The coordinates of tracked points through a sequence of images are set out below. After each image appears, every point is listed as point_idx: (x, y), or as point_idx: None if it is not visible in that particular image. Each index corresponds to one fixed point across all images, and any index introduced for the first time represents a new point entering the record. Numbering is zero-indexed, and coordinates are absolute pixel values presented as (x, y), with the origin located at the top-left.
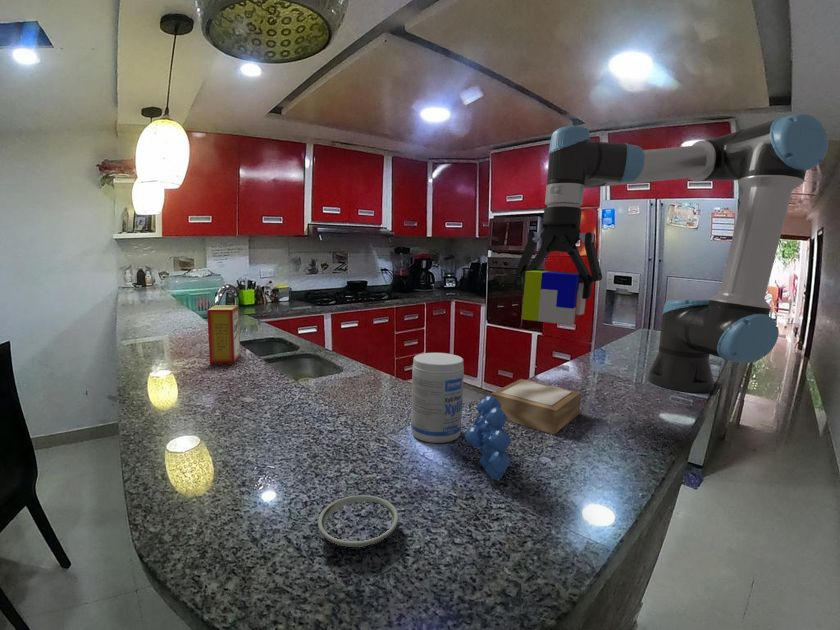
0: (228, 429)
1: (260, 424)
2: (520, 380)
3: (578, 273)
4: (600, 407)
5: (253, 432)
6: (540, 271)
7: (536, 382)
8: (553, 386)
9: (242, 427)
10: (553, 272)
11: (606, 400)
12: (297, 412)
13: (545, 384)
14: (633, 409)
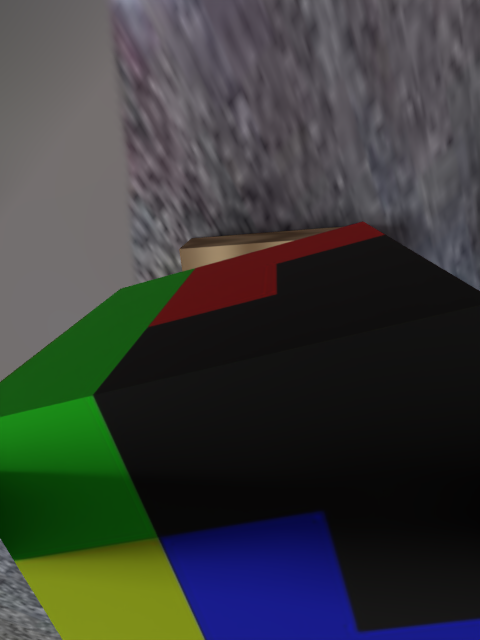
0: (16, 633)
1: (20, 608)
2: (187, 265)
3: (477, 478)
4: (383, 126)
5: (41, 623)
6: (138, 620)
7: (228, 245)
8: (282, 243)
9: (18, 623)
10: (274, 633)
11: (381, 39)
12: (3, 564)
13: (256, 243)
14: (470, 58)
